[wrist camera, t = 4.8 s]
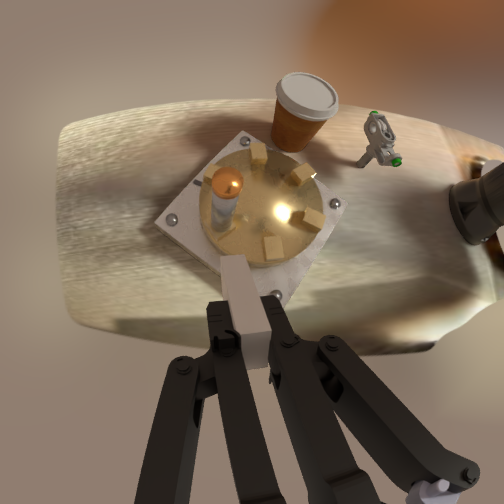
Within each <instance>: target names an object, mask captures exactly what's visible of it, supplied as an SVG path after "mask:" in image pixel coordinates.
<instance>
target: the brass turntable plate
mask: <svg viewBox="0 0 504 504" xmlns="http://www.w3.org/2000/svg"><path fill="white" fill-rule="evenodd" d="M315 174H316V172H315V171H314V170H313V169H312V168H311V166H310V165H309V164H308V163H307V162H306V163H304V164H302V165H300V164H299V163H298V162H296V161H295V160H294V159H292V158H290V157H289V156H286V155H284V154H282V153H279V152H276V151H273V150H269V149H266V147H265V143H250V145H249V149H243V150H239V151H236V152H233V153H230V154H228V155H226V156H224V157H223V158H221V159H220V160H219V161H217V162H216V163H215V164H212V163H210V165H209V166H208V168H207V170H206V171H205V173H204V175H203V182H202V185H201V189H200V194H199V210H200V219H201V224H202V227H203V230H204V232H205V234H206V236H207V238H208V239H209V240H210V242H211V243H212V245H213V246H214V247H215V248H216V249H217V250H218V251H219V252H220V253H222V254H223V255H224V256H229V255H242V254H245V257H246V260H247V263H248V266H250V267H258V268H266V267H274V266H278V265H281V264H284V263H286V262H288V261H290V260H292V259H293V258H295V257H296V256H297V255H299V254H300V253H301V252H302V251H304V250H305V249H306V248H307V247H308V246H309V245H310V244H311V243H312V242H313V240H314V239H315V238H316V236H317V234H318V232H320V231H321V230H322V228H323V225H324V222H325V219H326V215H324V214H323V202H322V197H321V194H320V191H319V188H318V186H317V184H316V182H315V181H314V179H313V177H314V176H315Z"/></svg>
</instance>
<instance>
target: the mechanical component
mask: <svg viewBox="0 0 504 504" xmlns="http://www.w3.org/2000/svg"><path fill="white" fill-rule="evenodd" d="M369 115H370V116H369V117H368V118H367V121H366V122H365V124H364V131H365V134H366V136H367V138H368V140H369V143H370V145H368V146H367V147H366V151H367V152H366V153H365V154H364V155H363V156H362V157H361V159H360V160H359V161H358V162H357V166H358V167H359V168H361V167H362V166H363V168H364V167H365V166H366V165H367V164H368V163H369V162H370V161H371V160H372V159H373V158H376V159H377V161H378V163H379V165H381V166H393V167H397V166H400V165H401V164H402V162H401V160H402V157H401V155H400V154H398V153H395V152H394V150H393V148H392V147H393V146H394V141H395V140H396V136H395V134H394V133H393V131H392V129H391V127H390V125H389V123H388V121H387V120H386V118H385V116H384V115H383V114H378V112H377V111H372V112H370V114H369ZM386 127H387V130H386ZM387 152H389V153H390V155H389V154H388V153H387Z"/></svg>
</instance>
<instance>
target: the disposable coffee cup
mask: <svg viewBox="0 0 504 504" xmlns="http://www.w3.org/2000/svg"><path fill="white" fill-rule="evenodd" d="M276 95H277V100H276V107H275V114H274V120H273V127H272V133H271V137H272V140H273V142H274V143H275V145H276V146H277V147H279V148H280V149H282V150H284V151H287V152H299V151H301V150H302V149H304V148H305V146H306V145H307V144H308V142H309V141H310V140H311V139H312V138H313V137H314V135H315V134H316V133H317V132H318V130H319V129H320V128H321V127H322V126H323V124H324V123H325V122H326V121H327V120H328V119H329V118H331V117H333V116H334V115H335V114H336V113H337V111H338V95H337V93H336V91H335V90H334V88H333V87H332V86H331V85H330V84H329V83H327V82H326V81H324V80H323V79H321V78H319V77H317V76H315V75H312V74H308V73H302V72H294V73H290V74H287V75H286V76H285V77H283V79H281V80H280V81H279V82H278V83H277V86H276Z"/></svg>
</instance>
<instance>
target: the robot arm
mask: <svg viewBox="0 0 504 504" xmlns="http://www.w3.org/2000/svg"><path fill="white" fill-rule="evenodd" d="M449 202H450V208H451V212H452V216H453V218H454V221H455V223H456V225H457V227H458V229H459V231H460V233H461V234H462V235H463V237H464V238H465V239H466V240H467V241H468V242H469V243H471V244H473V245H479V244H481V243H484V242H486V241H487V240H488V239H489V238H490V237H491V236H492V235H493V234H494V233H495V232H496V231H497V229H498V228H499V227H501V226H503V225H504V162H503V163H502V164H500V165H499V166H497V167H496V168H494V169H493V170H491V171H490V172H488V173H486V174H485V175H484V176H482V177H480V178H478V179H473V180H468V181H462V182H459V183H457V184H456V185H454V186H453V187H452V188H451V190H450V194H449ZM220 261H221V285H222V295H223V300H224V301H215V302H209V304H208V306H207V308H206V310H207V320H208V329H209V337H210V344H211V345H210V349H209V350H208V352H207V353H206V354H205V355H203V356H201V357H198V358H196V359H193V358H192V357H188V356H180V357H177V358H175V359H174V360H172V361H171V363H170V365H169V367H168V370H167V374H166V377H165V381H164V384H163V387H162V391H161V395H160V398H159V402H158V406H157V409H156V413H155V417H154V421H153V424H152V429H151V433H150V436H149V440H148V444H147V448H146V452H145V456H144V461H143V465H142V469H141V474H140V478H139V483H138V487H137V492H136V497H135V502H134V504H189V499H190V492H191V485H192V478H193V472H194V465H195V458H196V451H197V445H198V438H199V432H200V425H201V419H202V413H203V407H204V400H205V398H207V397H210V396H212V395H215V394H217V393H218V399H219V405H220V411H221V417H222V422H223V427H224V433H225V438H226V444H227V448H228V454H229V458H230V463H231V468H232V473H233V477H234V482H235V486H236V491H237V495H238V499H239V503H240V504H286V501H285V499H284V497H283V496H282V494H281V492H280V490H279V487H278V483H277V480H276V477H275V473H274V470H273V466H272V463H271V460H270V456H269V453H268V449H267V446H266V442H265V438H264V435H263V431H262V428H261V424H260V420H259V417H258V413H257V409H256V405H255V401H254V397H253V394H252V390H251V386H250V382H249V378H248V374H247V370H250V369H258V368H264V367H268V362H269V365H270V368H271V369H270V376H269V384H271V382H272V383H273V386H274V389H275V393H276V396H277V399H278V402H279V405H280V408H281V412H282V414H283V418H284V421H285V424H286V427H287V430H288V433H289V436H290V439H291V442H292V445H293V449H294V452H295V455H296V457H297V461H298V463H299V467H300V470H301V472H302V476H303V479H304V481H305V484H306V487H307V490H308V502H309V504H386V503H383V502H381V501H380V499H379V497H378V495H377V493H376V490H375V488H374V486H373V483H372V481H371V479H370V477H369V475H368V474H367V473H366V472H365V471H363V470H361V469H359V467H358V466H357V464H356V461H355V459H354V457H353V455H352V452H351V450H350V448H349V445H348V443H347V441H346V439H345V436H344V434H343V432H342V430H341V427H340V425H339V423H338V420H337V418H336V416H335V413H336V414H337V415H338V417H339V418H340V419H341V420H342V421H343V423H344V424H345V425H346V427H347V428H348V429H349V430H350V431H351V433H352V434H353V435H354V436H355V438H356V439H357V440H358V441H359V443H360V444H361V445H362V446H363V447H364V449H365V450H366V451H367V452H368V454H369V455H370V456H371V457H372V458H373V460H374V461H375V462H376V463H377V464H378V466H379V467H380V468H381V469H382V470H383V472H384V473H385V474H386V475H387V476H388V477H389V479H390V480H391V481H392V482H393V483H394V484H395V485H396V486H398V487H399V488H400V489H402V490H403V491H405V492H407V493H408V496H407V497H406V503H407V504H456V503H457V500H458V498H459V496H460V494H461V492H462V491H465V490H467V489H469V488H471V487H473V486H474V485H475V484H476V483H477V481H478V479H479V476H480V469H479V467H478V465H477V464H476V463H475V462H473V461H471V460H468V459H466V458H464V457H461V456H459V455H457V454H455V453H453V452H451V451H448V450H447V449H445V448H444V447H443V446H442V445H441V444H440V443H439V442H438V441H437V439H436V438H435V437H434V436H433V435H432V434H431V433H430V432H429V431H428V430H427V429H426V428H425V427H424V426H423V425H422V423H421V422H420V421H419V420H418V419H417V418H416V417H415V416H414V415H413V414H412V413H411V412H410V411H409V410H408V408H407V407H406V406H405V405H404V404H403V403H402V402H401V401H400V400H399V399H398V398H397V397H396V396H395V395H394V394H393V392H391V390H390V389H389V388H388V387H387V386H386V385H385V384H384V383H383V382H382V381H381V380H380V379H379V378H378V377H377V376H376V374H375V373H374V372H373V371H372V370H371V369H370V368H369V367H368V366H367V365H366V364H365V363H364V362H363V361H362V360H361V359H360V358H359V356H358V355H357V354H356V353H355V352H354V351H353V350H352V349H351V348H350V347H349V346H348V345H347V344H346V343H345V342H344V341H343V340H342V339H341V338H340V337H337V336H334V335H327V336H324V337H323V338H321V339H320V341H319V342H314V341H306V340H303V339H301V338H300V337H299V336H298V335H297V334H295V333H294V332H293V330H292V327H291V325H290V323H289V321H288V318H287V316H286V314H285V311H284V309H283V308H282V305H281V302H280V300H279V299H278V298H276V297H275V296H274V295H267V296H259V294H258V291H257V288H256V285H255V282H254V280H253V277H252V274H251V271H250V268H249V266H248V263H247V260H246V257H245V254H242V255H229V256H220ZM333 410H334V411H335V413H334V411H333Z"/></svg>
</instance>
